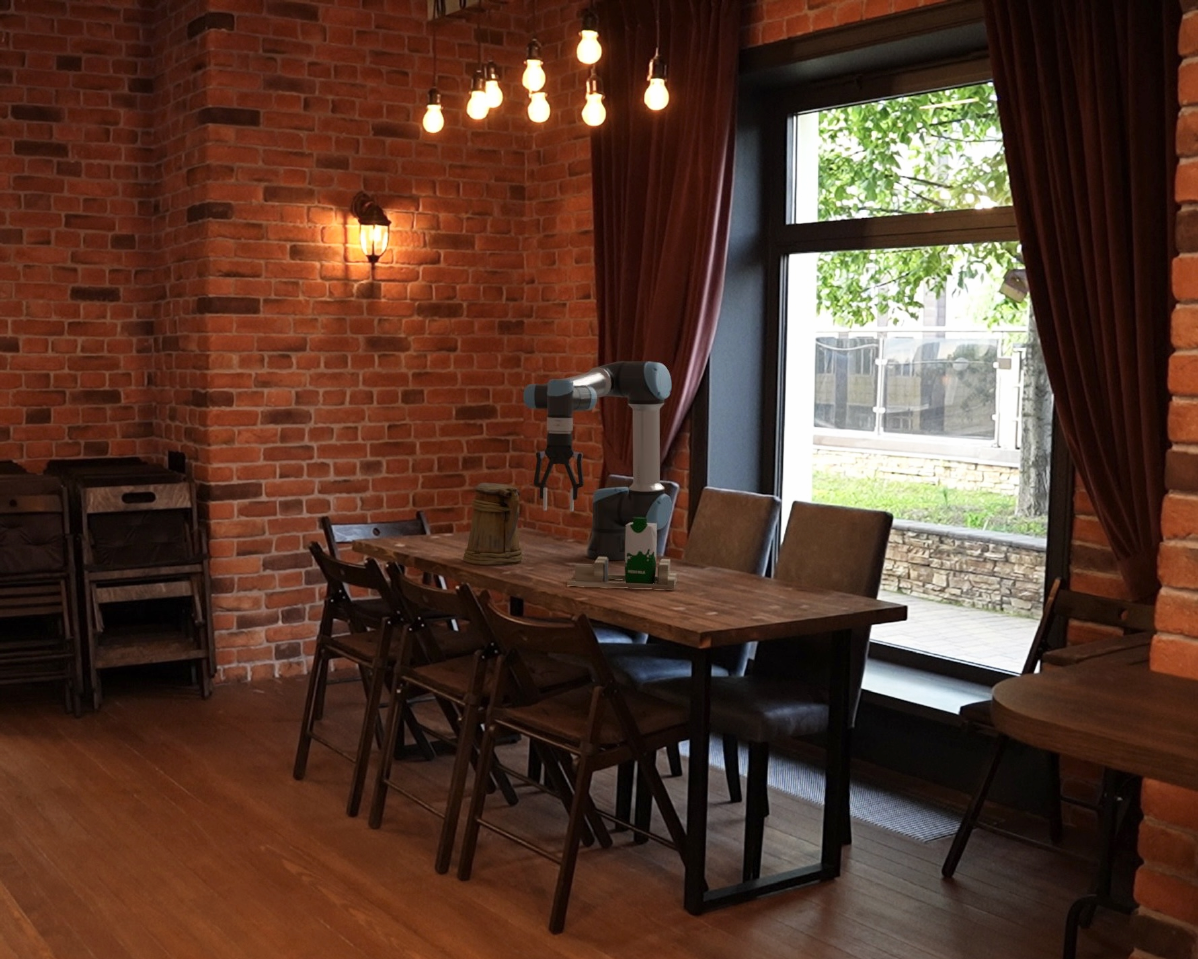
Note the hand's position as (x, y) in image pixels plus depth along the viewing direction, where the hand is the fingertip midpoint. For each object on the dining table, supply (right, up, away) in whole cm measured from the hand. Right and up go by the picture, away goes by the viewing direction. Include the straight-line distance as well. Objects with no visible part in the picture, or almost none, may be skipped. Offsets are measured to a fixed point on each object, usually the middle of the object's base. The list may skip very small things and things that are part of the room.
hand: (558, 510), depth 399 cm
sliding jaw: (+10, -21, +1) cm, 23 cm away
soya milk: (+24, -22, 0) cm, 32 cm away
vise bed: (+19, -22, 0) cm, 29 cm away
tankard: (-21, -18, +36) cm, 45 cm away
